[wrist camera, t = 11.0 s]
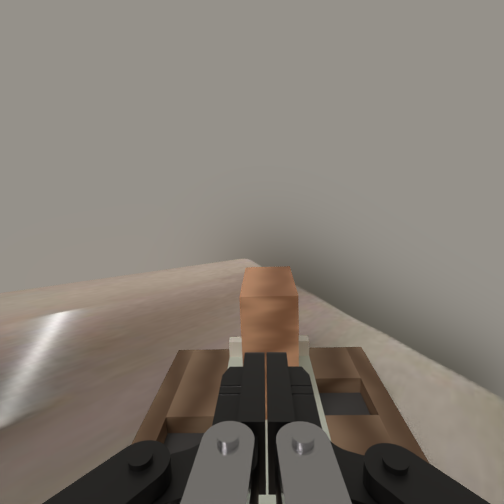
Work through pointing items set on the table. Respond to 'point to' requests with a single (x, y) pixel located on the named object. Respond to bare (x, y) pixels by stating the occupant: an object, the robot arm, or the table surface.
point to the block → (269, 314)
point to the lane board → (328, 404)
